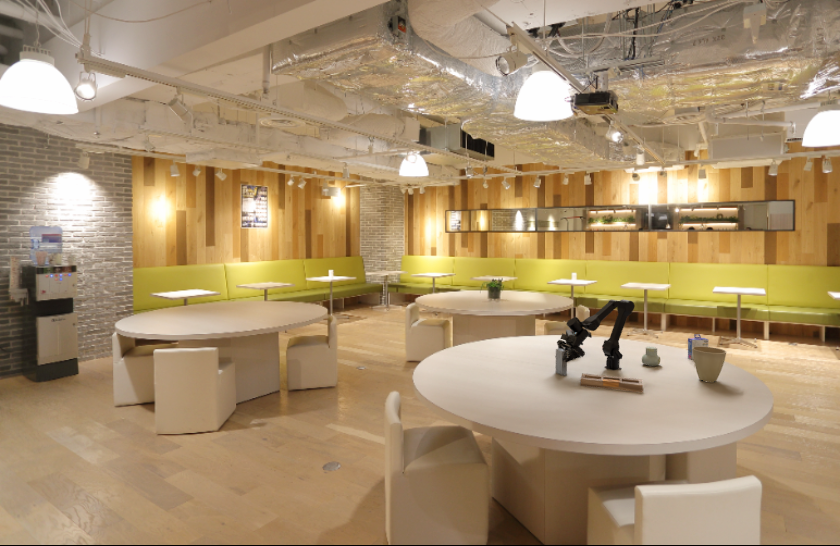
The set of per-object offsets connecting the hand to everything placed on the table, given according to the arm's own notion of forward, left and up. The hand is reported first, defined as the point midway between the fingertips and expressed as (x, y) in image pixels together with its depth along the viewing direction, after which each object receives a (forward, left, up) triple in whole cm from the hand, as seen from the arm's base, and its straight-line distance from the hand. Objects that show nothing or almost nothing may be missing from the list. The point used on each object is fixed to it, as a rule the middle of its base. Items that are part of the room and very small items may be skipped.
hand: (560, 359), depth 262 cm
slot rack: (-10, +27, -8) cm, 29 cm away
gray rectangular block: (0, 0, -8) cm, 8 cm away
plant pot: (-61, +39, -8) cm, 73 cm away
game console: (-38, -37, -8) cm, 54 cm away
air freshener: (-58, +6, -8) cm, 59 cm away
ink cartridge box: (-94, +7, -8) cm, 95 cm away
